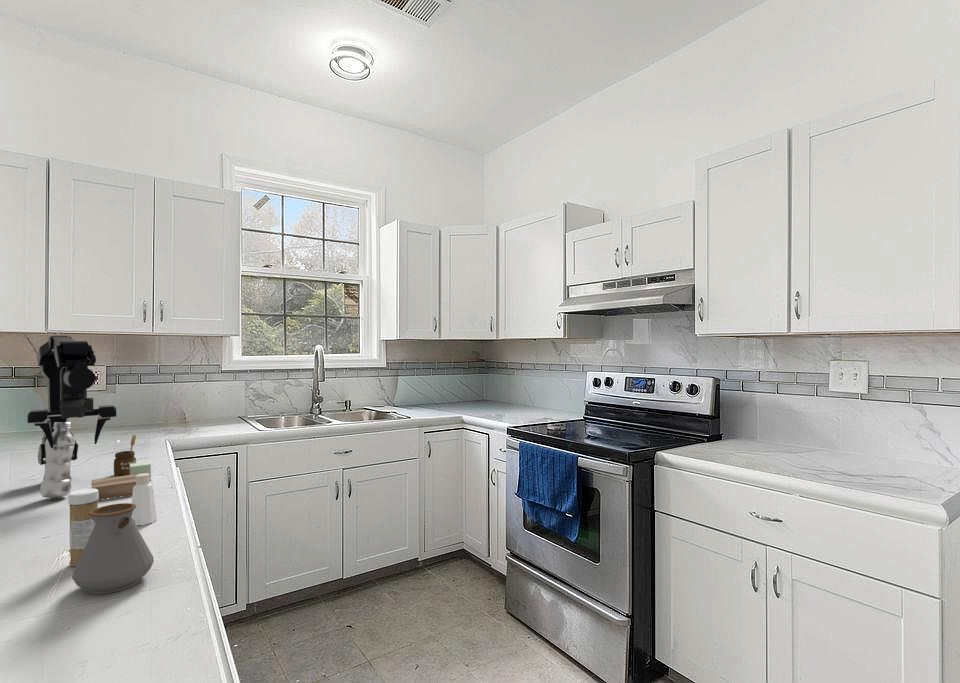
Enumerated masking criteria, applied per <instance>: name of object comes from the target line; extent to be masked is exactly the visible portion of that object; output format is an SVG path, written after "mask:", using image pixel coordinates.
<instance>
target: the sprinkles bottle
mask: <svg viewBox="0 0 960 683" xmlns="http://www.w3.org/2000/svg"><path fill="white" fill-rule="evenodd" d="M67 496H68V497H67V498H68V499H67V500H68V502H67V503H68V504H69V505H68V506H69V552H70V553H69V554H70V556H69V557H70V559H69V560H70V561H69V565H70V566H71V567H76V565H77V563H78V561H79V559H80V557H81V555H82V552H83V550H84V548H85V546H86V544H87V541H88V539H89V537H90V535H91V533H92V530H93V528H94V526H95V524H96V523H95V522H94V521H93V519H92V518H91V517H90V516H89V515H88V513H89V512H91V511H92V510H94V509H97V508H99V507H98V506H99V505H98V502H99V501H98V499H99V493H98V490H97V489H92V488H82V489H77V490H75V491H74V490H73V491H70V493H69V494H68V495H67Z"/></svg>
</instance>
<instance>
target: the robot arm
mask: <svg viewBox="0 0 960 683" xmlns="http://www.w3.org/2000/svg"><path fill="white" fill-rule="evenodd" d="M94 350H95V349H94V348H92V344H91V345H90V344H89V341H87V340H74V339H72V336H69V335H51V336H48V341H47V342H45V343H44V344H42V345H41V346H40V347H39V348H38V352H37V362H36V363H37V366H38V367H40V370H39V371H40V373H41V374H42V375H43V377H44V378H45V380H46V381H47V408H46V409H32V410H30V411H29V412H28V413H27V424H33V423H34V424H33V425H34V427H40V429H41V430H42V431H43V433H44V435H43V436H42V437H41V443H40V444H39V447H38V451H37V452H38V453H37V454H38V455H37V463H38V464H39V465H40V466H43V465H44V469H45V468H46V450H45V447H46V446H45V442H46V440H47V439H48V442H49V444H50V446H51V448H53V435H52V433H53V432H54V429H53V427H54V422H68V420H67V419H69V418H78V419H80V418H83V417H90V416H91V417H93V416H97V419H96V427H95V433H94V445H96V444H97V443H98V440H99V437H100V434H101V432H102V430H103V428H104V425H105V423H106V422H107V421H111V418H115V417H117V406H115V405H114V404H110V405H99V406H98V408H94V397H88V389H89V388H91V387H92V386H94V384H95V382H96V374H95V373H94V371H93V370H91V369H90V368H89V367H93V366H96V365H95V364H96V362H97V359H96V354H95V351H94ZM70 433H71V434H72V435H73V437H74V438H75V435H74V434H73V433H72V431H70ZM78 451H79V444H78V443H77V441H76V439H75V445H74V449H73V453H72V458H71V461H76V460H78ZM70 479H71V480H72V476H71V475H70Z"/></svg>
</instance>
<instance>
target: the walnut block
mask: <svg viewBox="0 0 960 683" xmlns="http://www.w3.org/2000/svg"><path fill="white" fill-rule="evenodd" d="M134 486H136V478H135V474H134V475H126V476H112V477H106V478H105V477H104V478H99V479H98V478H97V479H91V489H97V490H98V493H99V499H98V500H100V501H102V500H101V499H107V498H113V499H115V498H114V497H120V496H126V497H129V496H128V495H132V493H133V487H134ZM120 498H121V497H120ZM107 500H108V499H107Z"/></svg>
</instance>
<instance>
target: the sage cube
mask: <svg viewBox="0 0 960 683" xmlns="http://www.w3.org/2000/svg"><path fill="white" fill-rule="evenodd" d="M151 466H152V465H151V462H150V461H142V462H136V463H133V464H130V475H134V474H135V476H136V475H138V474H143V473H148V474H150V476H149V482H150V481H152V475H151V474H152V470H151V469H152V467H151Z"/></svg>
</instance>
